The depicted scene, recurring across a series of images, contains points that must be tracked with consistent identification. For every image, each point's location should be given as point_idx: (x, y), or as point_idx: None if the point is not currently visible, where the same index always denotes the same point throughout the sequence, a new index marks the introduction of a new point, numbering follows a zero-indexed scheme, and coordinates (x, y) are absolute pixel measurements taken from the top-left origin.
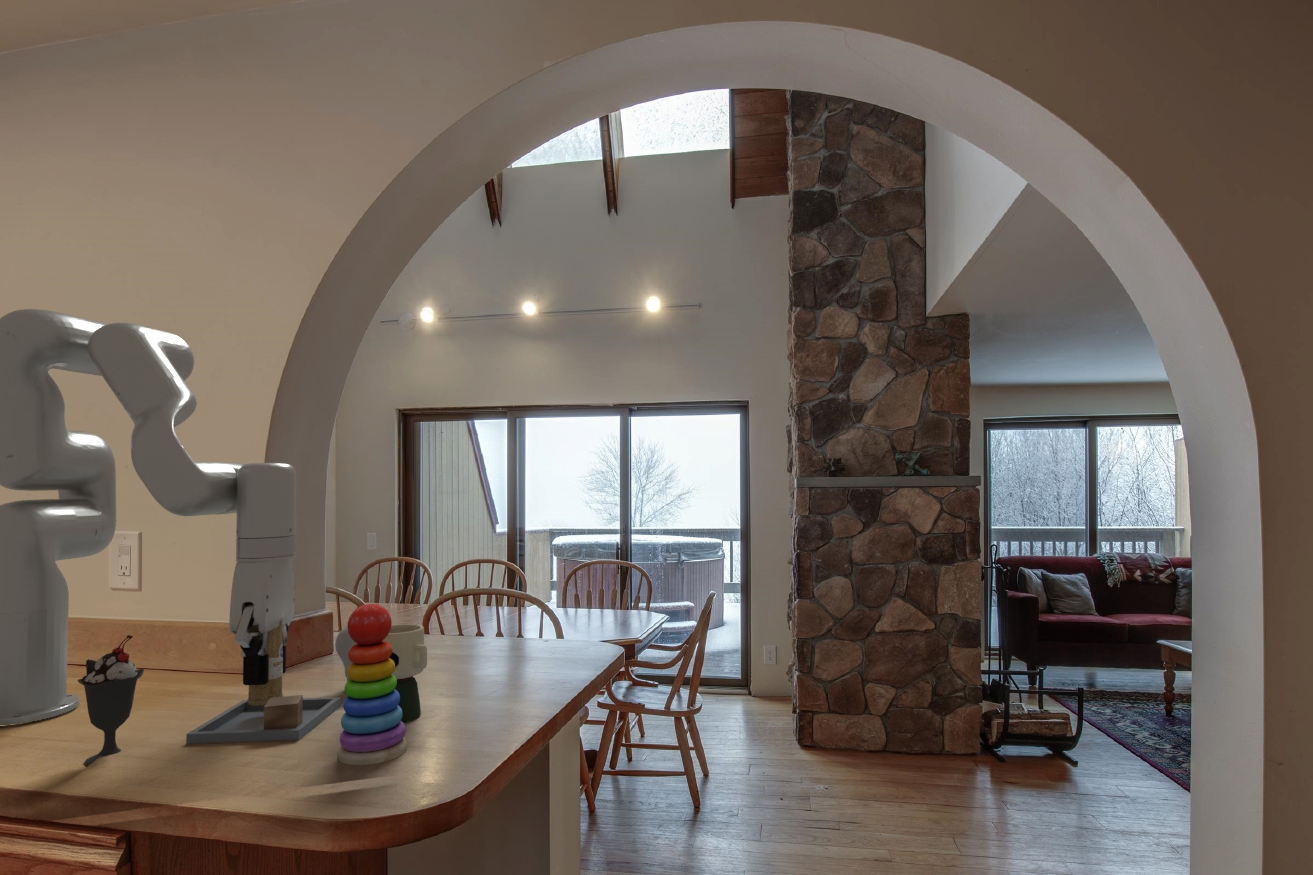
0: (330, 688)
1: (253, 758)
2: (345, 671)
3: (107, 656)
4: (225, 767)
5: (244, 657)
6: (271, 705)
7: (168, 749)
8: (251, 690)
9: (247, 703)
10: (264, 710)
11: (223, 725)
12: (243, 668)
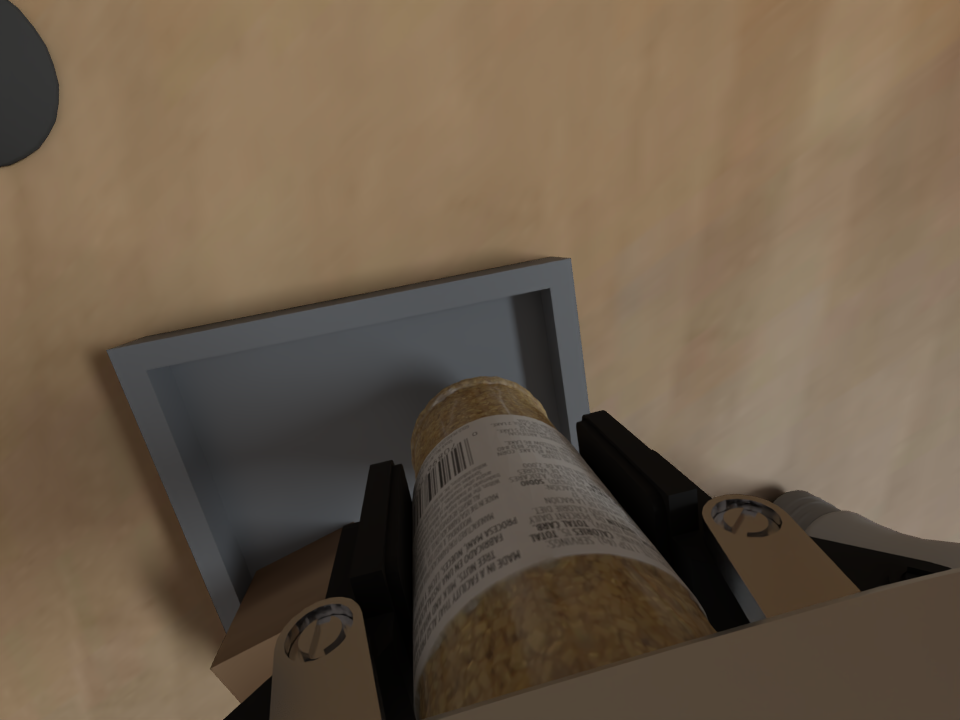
0: (840, 386)
1: (148, 607)
2: (833, 535)
3: None
4: (54, 583)
5: (354, 575)
6: (237, 681)
7: (133, 257)
8: (418, 453)
9: (548, 293)
10: (217, 656)
11: (352, 331)
12: (361, 515)
